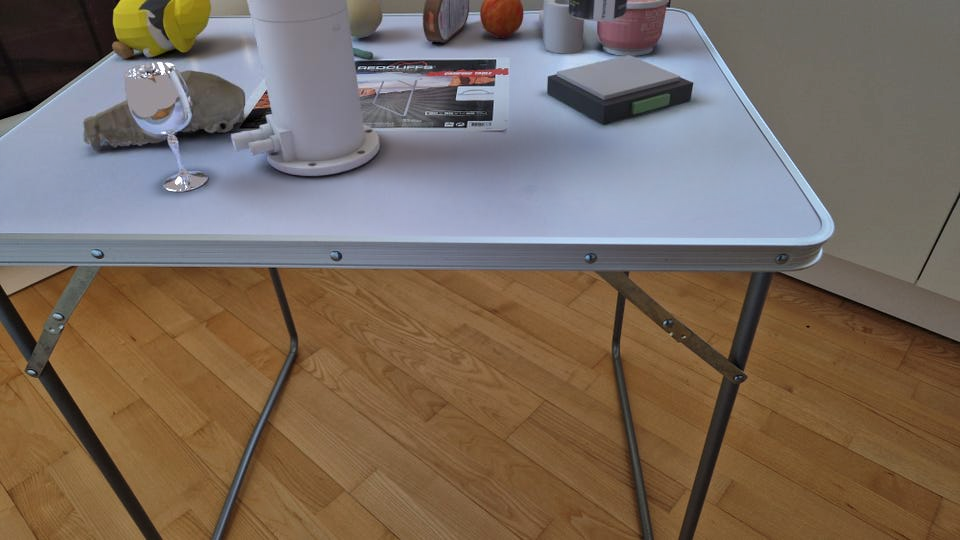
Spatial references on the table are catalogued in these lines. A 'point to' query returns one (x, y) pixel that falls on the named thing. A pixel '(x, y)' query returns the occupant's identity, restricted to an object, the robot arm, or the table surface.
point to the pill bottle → (597, 9)
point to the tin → (444, 18)
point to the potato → (363, 17)
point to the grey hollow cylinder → (560, 27)
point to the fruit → (501, 16)
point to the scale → (618, 88)
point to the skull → (211, 111)
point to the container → (634, 28)
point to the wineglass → (163, 112)
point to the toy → (158, 25)
